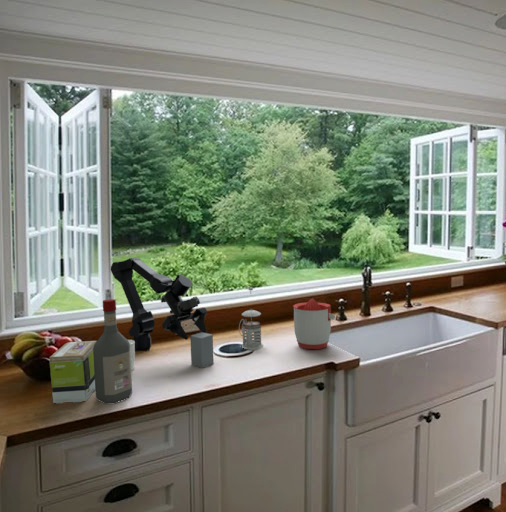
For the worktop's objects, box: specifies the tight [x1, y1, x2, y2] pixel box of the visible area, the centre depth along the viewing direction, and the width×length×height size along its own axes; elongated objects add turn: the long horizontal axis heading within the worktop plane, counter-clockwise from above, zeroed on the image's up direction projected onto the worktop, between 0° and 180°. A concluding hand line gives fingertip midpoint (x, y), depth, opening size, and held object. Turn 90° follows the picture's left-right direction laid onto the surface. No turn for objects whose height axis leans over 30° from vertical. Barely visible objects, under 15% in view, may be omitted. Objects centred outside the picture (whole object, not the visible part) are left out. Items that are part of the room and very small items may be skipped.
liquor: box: [93, 298, 133, 404], centre depth 126 cm, size 9×9×30 cm
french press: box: [238, 286, 265, 350], centre depth 174 cm, size 10×12×25 cm
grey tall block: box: [189, 331, 215, 369], centre depth 154 cm, size 6×6×11 cm
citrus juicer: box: [292, 298, 336, 350], centre depth 173 cm, size 16×17×20 cm
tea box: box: [49, 340, 98, 404], centre depth 131 cm, size 15×10×15 cm, turn 5°
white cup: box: [127, 339, 136, 372], centre depth 151 cm, size 8×8×10 cm
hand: (196, 336), depth 156 cm, fingers open, 9 cm apart
